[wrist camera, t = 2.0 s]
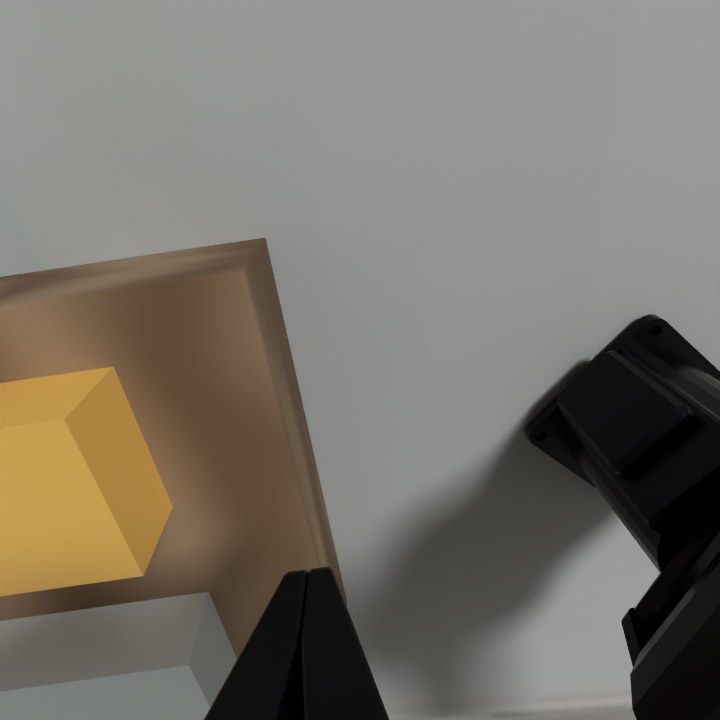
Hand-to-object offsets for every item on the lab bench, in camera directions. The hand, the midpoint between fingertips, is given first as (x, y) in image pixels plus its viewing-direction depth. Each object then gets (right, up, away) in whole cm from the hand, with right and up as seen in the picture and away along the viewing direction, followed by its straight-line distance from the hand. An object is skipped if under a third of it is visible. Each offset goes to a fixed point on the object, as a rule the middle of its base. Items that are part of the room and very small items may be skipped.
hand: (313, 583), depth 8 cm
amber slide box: (-9, +1, +5) cm, 11 cm away
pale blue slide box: (-8, -7, +9) cm, 14 cm away
